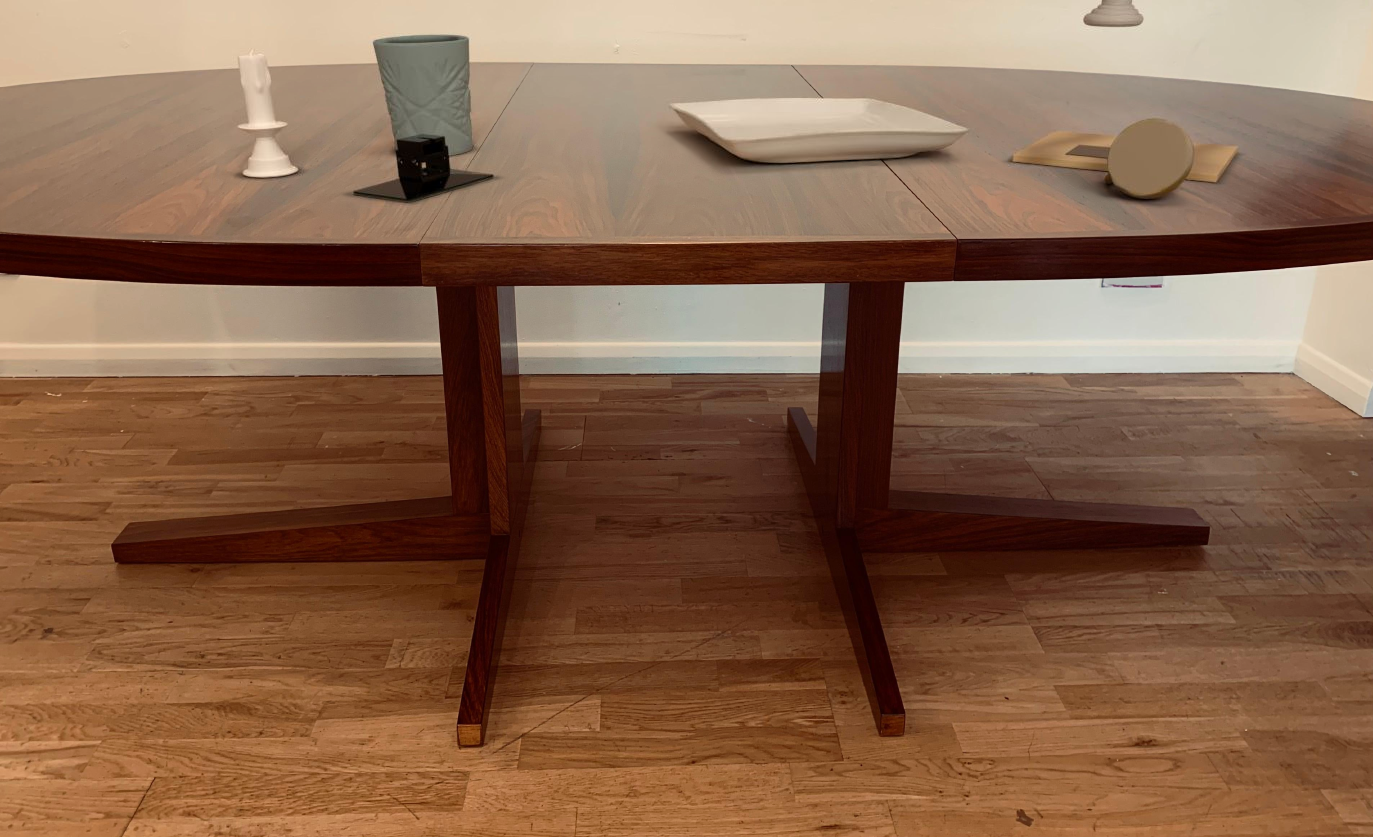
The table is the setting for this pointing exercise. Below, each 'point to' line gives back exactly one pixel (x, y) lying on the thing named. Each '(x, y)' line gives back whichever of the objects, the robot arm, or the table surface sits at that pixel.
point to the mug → (1150, 158)
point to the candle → (262, 120)
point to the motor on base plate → (422, 171)
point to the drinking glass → (427, 87)
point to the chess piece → (1114, 14)
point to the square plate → (817, 128)
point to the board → (1095, 149)
